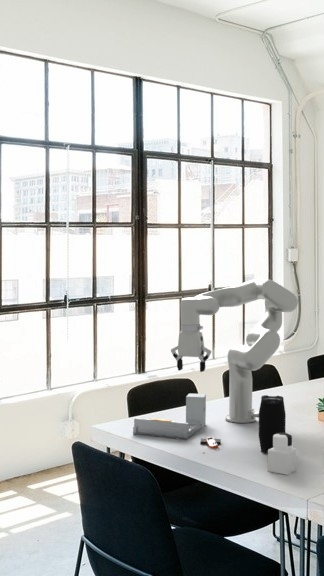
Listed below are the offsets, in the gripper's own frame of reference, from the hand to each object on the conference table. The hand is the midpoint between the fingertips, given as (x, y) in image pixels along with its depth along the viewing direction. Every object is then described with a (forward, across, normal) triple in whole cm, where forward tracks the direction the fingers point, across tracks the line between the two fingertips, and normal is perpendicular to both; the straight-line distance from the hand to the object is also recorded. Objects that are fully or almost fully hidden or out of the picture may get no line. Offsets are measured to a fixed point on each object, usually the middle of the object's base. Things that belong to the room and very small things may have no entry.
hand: (191, 370), depth 285 cm
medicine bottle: (+23, -49, +42) cm, 68 cm away
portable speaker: (+23, -40, +22) cm, 51 cm away
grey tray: (+22, +5, +14) cm, 27 cm away
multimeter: (+23, -20, +26) cm, 40 cm away
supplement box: (+23, -1, 0) cm, 23 cm away
